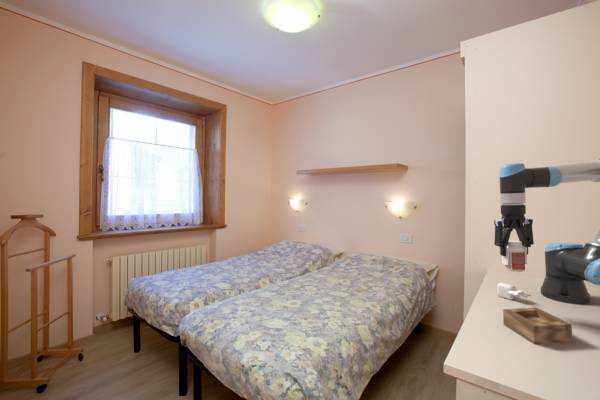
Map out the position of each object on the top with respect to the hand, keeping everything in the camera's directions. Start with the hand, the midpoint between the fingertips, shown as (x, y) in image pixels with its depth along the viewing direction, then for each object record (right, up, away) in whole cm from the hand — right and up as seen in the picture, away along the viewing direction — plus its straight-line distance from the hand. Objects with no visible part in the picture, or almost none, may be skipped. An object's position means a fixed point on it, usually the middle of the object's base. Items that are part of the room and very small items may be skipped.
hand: (514, 263), depth 103 cm
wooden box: (-5, -19, -15) cm, 25 cm away
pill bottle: (0, -3, 0) cm, 3 cm away
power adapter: (+8, -18, +11) cm, 23 cm away
